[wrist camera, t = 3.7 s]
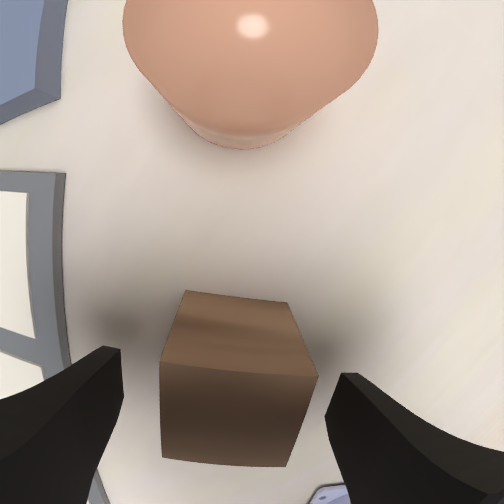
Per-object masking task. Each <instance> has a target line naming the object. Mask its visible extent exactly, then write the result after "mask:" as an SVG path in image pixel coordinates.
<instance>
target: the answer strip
mask: <svg viewBox="0 0 504 504" xmlns="http://www.w3.org/2000/svg"><path fill="white" fill-rule="evenodd" d="M65 175H66V173H51V172H28V171H0V399H3V398H6V397H9V396H11V395H14V394H16V393H19V392H22V391H24V390H26V389H28V388H31V387H33V386H35V385H37V384H39V383H41V382H42V381H44V380H46V379H48V378H50V377H52V376H54V375H55V374H57V373H59V372H61V371H63V370H64V369H66V368H67V367H69V366H71V361H70V354H69V347H68V340H67V331H66V322H65V311H64V298H63V281H62V216H63V198H64V185H65ZM87 504H110V503H109V500H108V498H107V495H106V493H105V490H104V488H103V485H102V482H101V479H100V477H99V474H98V471H97V469H96V472H95V474H94V477H93V480H92V484H91V488H90V492H89V496H88V500H87Z"/></svg>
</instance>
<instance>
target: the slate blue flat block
mask: <svg viewBox="0 0 504 504" xmlns="http://www.w3.org/2000/svg"><path fill="white" fill-rule="evenodd" d="M67 3H68V0H0V125H1V124H3V123H5V122H7V121H9V120H11V119H13V118H15V117H18V116H20V115H22V114H24V113H26V112H29V111H31V110H33V109H36V108H38V107H41V106H43V105H46V104H48V103H51V102H53V101H56V100H59V99H61V63H62V47H63V35H64V25H65V17H66V9H67Z"/></svg>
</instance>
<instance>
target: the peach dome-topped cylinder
mask: <svg viewBox="0 0 504 504" xmlns="http://www.w3.org/2000/svg"><path fill="white" fill-rule="evenodd" d="M122 22H123V35H124V40H125V44H126V47H127V50H128V52H129V54H130V56H131V59H132V60H133V62H134V63H135V65H136V66H137V68H138V69H139V71H140V72H141V73H142V74H143V75H144V76H145V77H146V78H147V80H148V81H149V82H150V83H151V84H152V85H153V86H154V87H155V88H156V89H157V91H158V92H159V93H160V94H161V95H162V96H163V97H164V98H165V99H166V101H167V102H168V103H169V104H170V105H171V106H172V107H173V108H174V110H175V111H176V112H177V113H178V114H179V115H180V116H181V118H182V119H183V120H184V121H185V122H186V123H187V124H188V125H189V127H190V128H191V129H192V130H193V131H194V132H196V133H197V134H198V135H199V136H201V137H202V138H204V139H205V140H207V141H209V142H211V143H214V144H216V145H219V146H222V147H227V148H232V149H252V148H258V147H262V146H265V145H268V144H271V143H273V142H275V141H277V140H279V139H281V138H282V137H284V136H285V135H286V134H288V133H289V132H290V131H292V130H293V129H294V128H296V127H297V126H298V125H300V124H301V123H302V122H304V121H305V120H306V119H308V118H309V117H311V116H312V115H313V114H315V113H316V112H317V111H319V110H320V109H321V108H323V107H324V106H326V105H327V104H328V103H330V102H331V101H333V100H334V99H335V98H337V97H338V96H340V95H341V94H342V93H344V92H345V91H347V90H348V89H349V88H350V87H351V86H352V85H353V84H354V83H355V82H357V81H358V80H359V79H360V77H361V76H362V74H363V73H364V72H365V70H366V69H367V68H368V66H369V64H370V62H371V60H372V58H373V56H374V52H375V49H376V46H377V39H378V19H377V14H376V9H375V6H374V3H373V1H372V0H126V4H125V7H124V12H123V21H122Z"/></svg>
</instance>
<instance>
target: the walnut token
mask: <svg viewBox="0 0 504 504" xmlns="http://www.w3.org/2000/svg"><path fill="white" fill-rule="evenodd" d="M317 379H318V374H317V372H316V369H315V367H314V364H313V362H312V360H311V357H310V355H309V353H308V350H307V348H306V346H305V343H304V341H303V339H302V336H301V334H300V332H299V329H298V327H297V325H296V322H295V320H294V318H293V315H292V313H291V311H290V308H289V306H288V304H287V303H285V302H276V301H267V300H258V299H249V298H241V297H233V296H225V295H217V294H210V293H202V292H195V291H188V290H186V291H185V293H184V296H183V299H182V301H181V304H180V306H179V309H178V312H177V314H176V317H175V320H174V322H173V325H172V328H171V331H170V333H169V336H168V339H167V342H166V344H165V347H164V350H163V353H162V355H161V358H160V367H159V383H160V427H161V448H162V457H163V458H169V459H176V460H183V461H190V462H198V463H207V464H218V465H231V466H250V467H286V465H287V462H288V460H289V457H290V455H291V452H292V450H293V447H294V444H295V442H296V439H297V437H298V434H299V431H300V429H301V426H302V423H303V420H304V417H305V415H306V412H307V409H308V406H309V403H310V400H311V397H312V394H313V391H314V388H315V385H316V382H317Z"/></svg>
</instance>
